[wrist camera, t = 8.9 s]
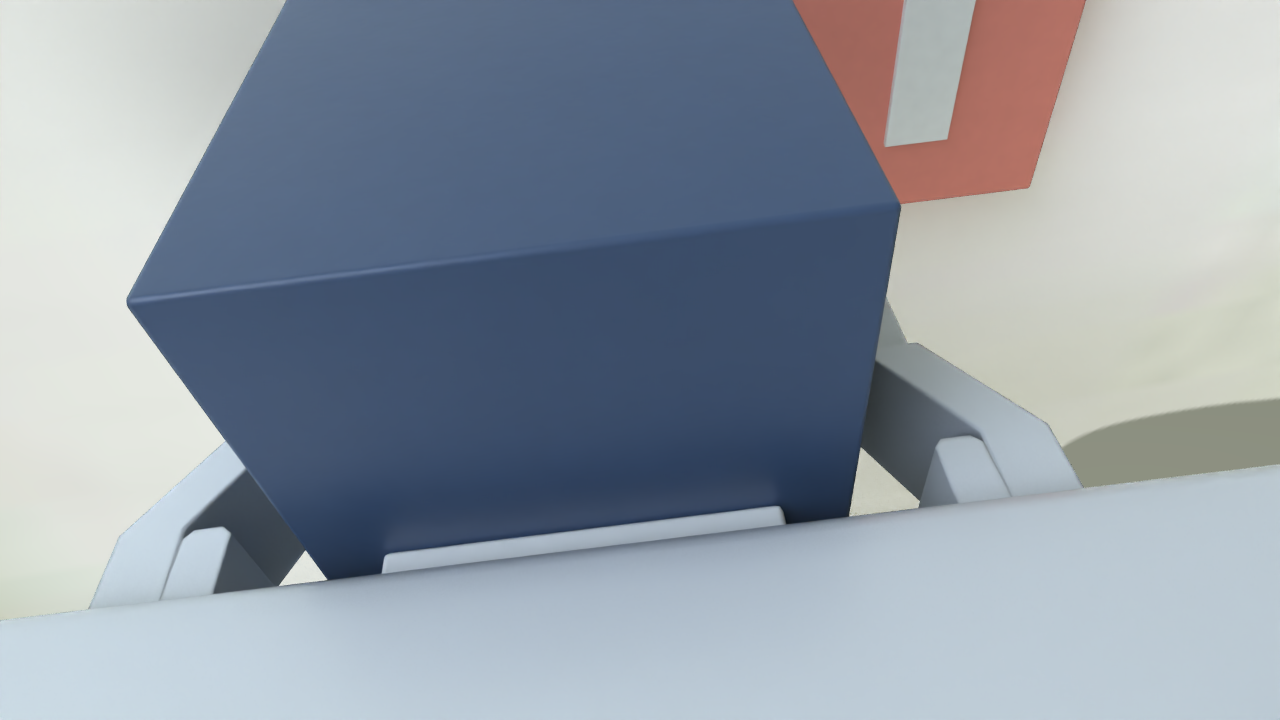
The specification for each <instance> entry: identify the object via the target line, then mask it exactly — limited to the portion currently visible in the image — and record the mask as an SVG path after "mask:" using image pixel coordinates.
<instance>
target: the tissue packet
mask: <svg viewBox="0 0 1280 720" xmlns="http://www.w3.org/2000/svg"><path fill="white" fill-rule="evenodd" d="M793 2H794V4H795V6H796V8H797V10H798V11H799V13H800V15H801V17H802V19H803V21H804V23H805V25H806V26H807V28H808V30H809V32H810V34H811V36H812V38H813V40H814V42H815V43H816V45H817V47H818V49H819V51H820V53H821V55H822V57H823V59H824V60H825V62H826V64H827V66H828V68H829V70H830V72H831V74H832V75H833V77H834V79H835V81H836V83H837V85H838V87H839V89H840V91H841V92H842V94H843V96H844V98H845V100H846V102H847V104H848V106H849V107H850V109H851V111H852V113H853V115H854V117H855V119H856V121H857V123H858V124H859V126H860V128H861V130H862V132H863V134H864V136H865V138H866V139H867V141H868V143H869V145H870V147H871V149H872V151H873V153H874V155H875V156H876V158H877V160H878V162H879V164H880V166H881V168H882V170H883V171H884V173H885V175H886V177H887V179H888V181H889V183H890V185H891V187H892V188H893V190H894V192H895V194H896V196H897V198H898V200H899V202H900V204H905V203H913V202H921V201H929V200H937V199H945V198H953V197H961V196H969V195H977V194H985V193H993V192H1001V191H1009V190H1017V189H1025V188H1029V187H1030V184H1031V181H1032V178H1033V174H1034V171H1035V168H1036V164H1037V161H1038V158H1039V154H1040V151H1041V148H1042V144H1043V141H1044V138H1045V134H1046V131H1047V128H1048V125H1049V121H1050V118H1051V115H1052V111H1053V108H1054V105H1055V101H1056V98H1057V95H1058V91H1059V88H1060V85H1061V82H1062V78H1063V75H1064V72H1065V68H1066V65H1067V62H1068V58H1069V55H1070V52H1071V48H1072V45H1073V42H1074V38H1075V35H1076V32H1077V29H1078V25H1079V22H1080V19H1081V15H1082V12H1083V9H1084V5H1085V2H1086V0H793Z"/></svg>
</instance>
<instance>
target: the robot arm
mask: <svg viewBox="0 0 1280 720" xmlns="http://www.w3.org/2000/svg"><path fill="white" fill-rule="evenodd" d="M861 447H862V448H863V449H864V450H865V451H866V452H867V453H868V454H869V455H870V456H871V457H872V458H874V459H875V460H876V461H877V462H878V463H879V464H880V465H881V466H882V467H883V468H884V469H886V470H887V471H888V472H889V473H890V474H891V475H892V476H893V477H894V478H895V479H896V480H898V481H899V482H900V483H901V484H902V485H903V486H904V487H905V488H906V489H907V490H908V491H909V492H911V493H912V494H913V495H914V496H915V497H916V498H917V499H918V500H919V501H920V504H919V507H918V508H916V509H908V510H900V511H892V512H883V513H875V514H867V515H859V516H850V517H842V518H834V519H826V520H817V521H809V522H801V523H793V524H785V525H776V526H768V527H760V528H752V529H744V530H735V531H727V532H719V533H711V534H702V535H694V536H686V537H678V538H670V539H661V540H653V541H645V542H637V543H629V544H620V545H612V546H604V547H596V548H588V549H579V550H571V551H563V552H555V553H547V554H538V555H530V556H522V557H514V558H505V559H497V560H489V561H481V562H473V563H464V564H456V565H448V566H440V567H432V568H423V569H415V570H407V571H399V572H391V573H382V574H374V575H366V576H358V577H350V578H341V579H333V580H325V581H317V582H309V583H300V584H292V585H284V586H279V584H280V583H281V582H282V580H283V579H284V578H285V576H286V575H287V574H288V573H289V571H290V570H291V569H292V567H293V566H294V565H295V563H296V562H297V561H298V559H299V558H300V557H301V555H302V554H303V553H304V551H305V548H304V547H303V545H302V544H301V543H300V541H299V540H298V539H297V537H296V536H295V535H294V533H293V532H292V530H291V529H290V528H289V526H288V525H287V524H286V522H285V521H284V520H283V518H282V517H281V515H280V514H279V513H278V511H277V510H276V509H275V507H274V506H273V505H272V503H271V502H270V500H269V499H268V498H267V496H266V495H265V494H264V492H263V491H262V490H261V488H260V487H259V485H258V484H257V483H256V481H255V480H254V479H253V477H252V476H251V475H250V473H249V472H248V470H247V469H246V468H245V466H244V465H243V464H242V462H241V461H240V459H239V458H238V457H237V455H236V454H235V453H234V451H233V450H232V449H231V447H230V446H229V444H228V443H227V442H226V441H225V442H224V443H223V444H222V445H220V446H219V447H218V448H217V449H216V450H215V451H214V452H213V453H212V454H210V455H209V456H208V457H207V458H206V459H205V460H204V461H203V462H202V463H200V464H199V465H198V466H197V467H196V468H195V469H194V470H193V471H192V472H190V473H189V474H188V475H187V476H186V477H185V478H184V479H183V480H182V481H180V482H179V483H178V484H177V485H176V486H175V487H174V488H173V489H172V490H170V491H169V492H168V493H167V494H166V495H165V496H164V497H163V498H162V499H160V500H159V501H158V502H157V503H156V504H155V505H154V506H153V507H152V508H150V509H149V510H148V511H147V512H146V513H145V514H144V515H143V516H142V517H140V518H139V519H138V520H137V521H136V522H135V523H134V524H133V525H132V526H130V527H129V528H128V529H127V530H126V531H125V532H124V533H123V534H122V535H120V536H119V538H118V540H117V543H116V545H115V547H114V550H113V552H112V554H111V557H110V559H109V561H108V564H107V566H106V569H105V571H104V573H103V576H102V578H101V580H100V583H99V585H98V587H97V590H96V592H95V594H94V597H93V599H92V602H91V604H90V606H89V609H87V610H79V611H71V612H63V613H55V614H47V615H38V616H30V617H22V618H14V619H6V620H0V720H1280V464H1277V465H1269V466H1261V467H1253V468H1244V469H1236V470H1229V471H1220V472H1212V473H1203V474H1196V475H1187V476H1180V477H1171V478H1162V479H1155V480H1146V481H1139V482H1131V483H1121V484H1113V485H1105V486H1097V487H1089V488H1084V487H1083V485H1082V483H1081V481H1080V480H1079V478H1078V476H1077V475H1076V473H1075V471H1074V469H1073V468H1072V466H1071V464H1070V462H1069V460H1068V458H1067V457H1066V455H1065V453H1064V451H1063V450H1062V448H1061V446H1060V444H1059V442H1058V441H1057V439H1056V437H1055V435H1054V434H1053V432H1052V430H1051V428H1050V427H1049V425H1048V424H1047V423H1046V422H1044V421H1042V420H1041V419H1039V418H1038V417H1036V416H1034V415H1033V414H1031V413H1030V412H1028V411H1026V410H1025V409H1023V408H1022V407H1020V406H1018V405H1017V404H1015V403H1013V402H1012V401H1010V400H1009V399H1007V398H1005V397H1004V396H1002V395H1001V394H999V393H997V392H996V391H994V390H993V389H991V388H989V387H988V386H986V385H985V384H983V383H981V382H980V381H978V380H977V379H975V378H973V377H972V376H970V375H968V374H967V373H965V372H964V371H962V370H960V369H959V368H957V367H956V366H954V365H952V364H951V363H949V362H948V361H946V360H944V359H943V358H941V357H940V356H938V355H936V354H935V353H933V352H932V351H930V350H928V349H927V348H925V347H923V346H922V345H920V344H919V343H910V344H908V343H907V341H906V339H905V337H904V334H903V332H902V330H901V328H900V326H899V323H898V321H897V319H896V317H895V315H894V312H893V310H892V308H891V306H890V304H889V302H888V299H887V297H886V299H885V305H884V311H883V317H882V323H881V329H880V335H879V341H878V347H877V352H876V358H875V364H874V370H873V376H872V382H871V388H870V394H869V400H868V406H867V412H866V417H865V423H864V429H863V435H862V441H861Z"/></svg>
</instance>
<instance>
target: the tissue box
mask: <svg viewBox="0 0 1280 720" xmlns="http://www.w3.org/2000/svg"><path fill="white" fill-rule="evenodd" d="M900 211H901V204H900V202H899V200H898V198H897V196H896V194H895V192H894V190H893V188H892V187H891V185H890V183H889V181H888V179H887V177H886V175H885V173H884V171H883V170H882V168H881V166H880V164H879V162H878V160H877V158H876V156H875V155H874V153H873V151H872V149H871V147H870V145H869V143H868V141H867V139H866V138H865V136H864V134H863V132H862V130H861V128H860V126H859V124H858V123H857V121H856V119H855V117H854V115H853V113H852V111H851V109H850V107H849V106H848V104H847V102H846V100H845V98H844V96H843V94H842V92H841V91H840V89H839V87H838V85H837V83H836V81H835V79H834V77H833V75H832V74H831V72H830V70H829V68H828V66H827V64H826V62H825V60H824V59H823V57H822V55H821V53H820V51H819V49H818V47H817V45H816V43H815V42H814V40H813V38H812V36H811V34H810V32H809V30H808V28H807V26H806V25H805V23H804V21H803V19H802V17H801V15H800V13H799V11H798V10H797V8H796V6H795V4H794V2H793V0H287V1H286V2H285V4H284V6H283V8H282V10H281V12H280V14H279V15H278V17H277V19H276V21H275V23H274V25H273V27H272V29H271V30H270V32H269V34H268V36H267V38H266V40H265V42H264V43H263V45H262V47H261V49H260V51H259V53H258V55H257V56H256V58H255V60H254V62H253V64H252V66H251V68H250V70H249V71H248V73H247V75H246V77H245V79H244V81H243V83H242V84H241V86H240V88H239V90H238V92H237V94H236V96H235V97H234V99H233V101H232V103H231V105H230V107H229V109H228V110H227V112H226V114H225V116H224V118H223V120H222V122H221V124H220V125H219V127H218V129H217V131H216V133H215V135H214V137H213V138H212V140H211V142H210V144H209V146H208V148H207V150H206V151H205V153H204V155H203V157H202V159H201V161H200V163H199V165H198V166H197V168H196V170H195V172H194V174H193V176H192V178H191V179H190V181H189V183H188V185H187V187H186V189H185V191H184V192H183V194H182V196H181V198H180V200H179V202H178V204H177V205H176V207H175V209H174V211H173V213H172V215H171V217H170V219H169V220H168V222H167V224H166V226H165V228H164V230H163V232H162V233H161V235H160V237H159V239H158V241H157V243H156V245H155V246H154V248H153V250H152V252H151V254H150V256H149V258H148V260H147V261H146V263H145V265H144V267H143V269H142V271H141V273H140V274H139V276H138V278H137V280H136V282H135V284H134V286H133V287H132V289H131V291H130V293H129V295H128V297H127V306H128V308H129V309H130V311H131V312H132V313H133V315H134V316H135V318H136V319H137V320H138V322H139V323H140V324H141V326H142V327H143V328H144V330H145V331H146V333H147V334H148V335H149V337H150V338H151V339H152V341H153V342H154V343H155V345H156V346H157V348H158V349H159V350H160V352H161V353H162V354H163V356H164V357H165V359H166V360H167V361H168V363H169V364H170V365H171V367H172V368H173V369H174V371H175V372H176V374H177V375H178V376H179V378H180V379H181V380H182V382H183V383H184V384H185V386H186V387H187V389H188V390H189V391H190V393H191V394H192V395H193V397H194V398H195V399H196V401H197V402H198V404H199V405H200V406H201V408H202V409H203V410H204V412H205V413H206V414H207V416H208V417H209V419H210V420H211V421H212V423H213V424H214V425H215V427H216V428H217V429H218V431H219V432H220V434H221V435H222V436H223V438H224V439H225V440H226V442H227V443H228V444H229V446H230V447H231V449H232V450H233V451H234V453H235V454H236V455H237V457H238V458H239V459H240V461H241V462H242V464H243V465H244V466H245V468H246V469H247V470H248V472H249V473H250V475H251V476H252V477H253V479H254V480H255V481H256V483H257V484H258V485H259V487H260V488H261V490H262V491H263V492H264V494H265V495H266V496H267V498H268V499H269V500H270V502H271V503H272V505H273V506H274V507H275V509H276V510H277V511H278V513H279V514H280V515H281V517H282V518H283V520H284V521H285V522H286V524H287V525H288V526H289V528H290V529H291V530H292V532H293V533H294V535H295V536H296V537H297V539H298V540H299V541H300V543H301V544H302V545H303V547H304V548H305V550H306V551H307V552H308V554H309V555H310V556H311V558H312V559H313V560H314V562H315V563H316V565H317V566H318V567H319V569H320V570H321V571H322V573H323V574H324V576H325V577H326V578H327V580H333V579H341V578H350V577H358V576H366V575H374V574H382V573H391V572H399V571H407V570H415V569H423V568H432V567H440V566H448V565H456V564H464V563H473V562H481V561H489V560H497V559H505V558H514V557H522V556H530V555H538V554H547V553H555V552H563V551H571V550H579V549H588V548H596V547H604V546H612V545H620V544H629V543H637V542H645V541H653V540H661V539H670V538H678V537H686V536H694V535H702V534H711V533H719V532H727V531H735V530H744V529H752V528H760V527H768V526H776V525H785V524H793V523H801V522H809V521H817V520H826V519H834V518H842V517H849V512H850V506H851V500H852V494H853V488H854V482H855V476H856V471H857V465H858V459H859V453H860V447H861V441H862V435H863V429H864V423H865V417H866V412H867V406H868V400H869V394H870V388H871V382H872V376H873V370H874V364H875V358H876V352H877V347H878V341H879V335H880V329H881V323H882V317H883V311H884V305H885V299H886V293H887V288H888V282H889V276H890V270H891V264H892V258H893V252H894V246H895V240H896V234H897V229H898V223H899V217H900Z"/></svg>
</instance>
